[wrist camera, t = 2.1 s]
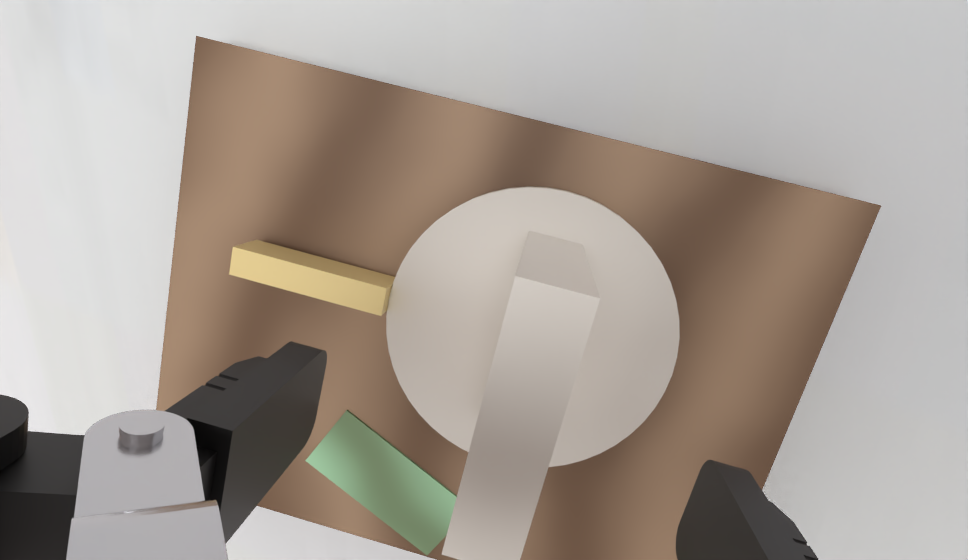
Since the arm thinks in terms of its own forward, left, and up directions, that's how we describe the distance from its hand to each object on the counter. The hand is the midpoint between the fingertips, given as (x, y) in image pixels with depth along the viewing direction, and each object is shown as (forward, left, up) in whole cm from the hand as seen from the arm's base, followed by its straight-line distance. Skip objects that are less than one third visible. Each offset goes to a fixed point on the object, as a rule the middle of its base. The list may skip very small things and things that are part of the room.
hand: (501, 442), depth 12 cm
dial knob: (+2, 0, -9) cm, 9 cm away
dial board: (+2, +2, -11) cm, 12 cm away
